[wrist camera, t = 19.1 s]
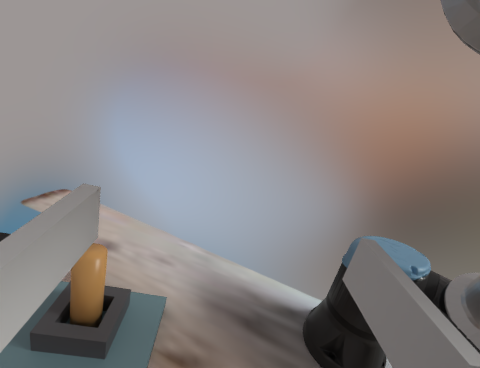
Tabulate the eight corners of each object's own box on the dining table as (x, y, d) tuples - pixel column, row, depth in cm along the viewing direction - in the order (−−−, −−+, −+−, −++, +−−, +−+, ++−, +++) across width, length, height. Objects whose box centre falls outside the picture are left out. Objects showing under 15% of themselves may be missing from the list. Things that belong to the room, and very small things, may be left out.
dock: (165, 303, 51) (169, 282, 50) (139, 393, 36) (143, 369, 35) (45, 285, 49) (45, 263, 47) (-36, 375, 34) (-41, 347, 32)
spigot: (106, 315, 44) (112, 246, 40) (93, 339, 40) (98, 265, 35) (79, 311, 44) (82, 241, 39) (63, 335, 40) (64, 259, 35)
